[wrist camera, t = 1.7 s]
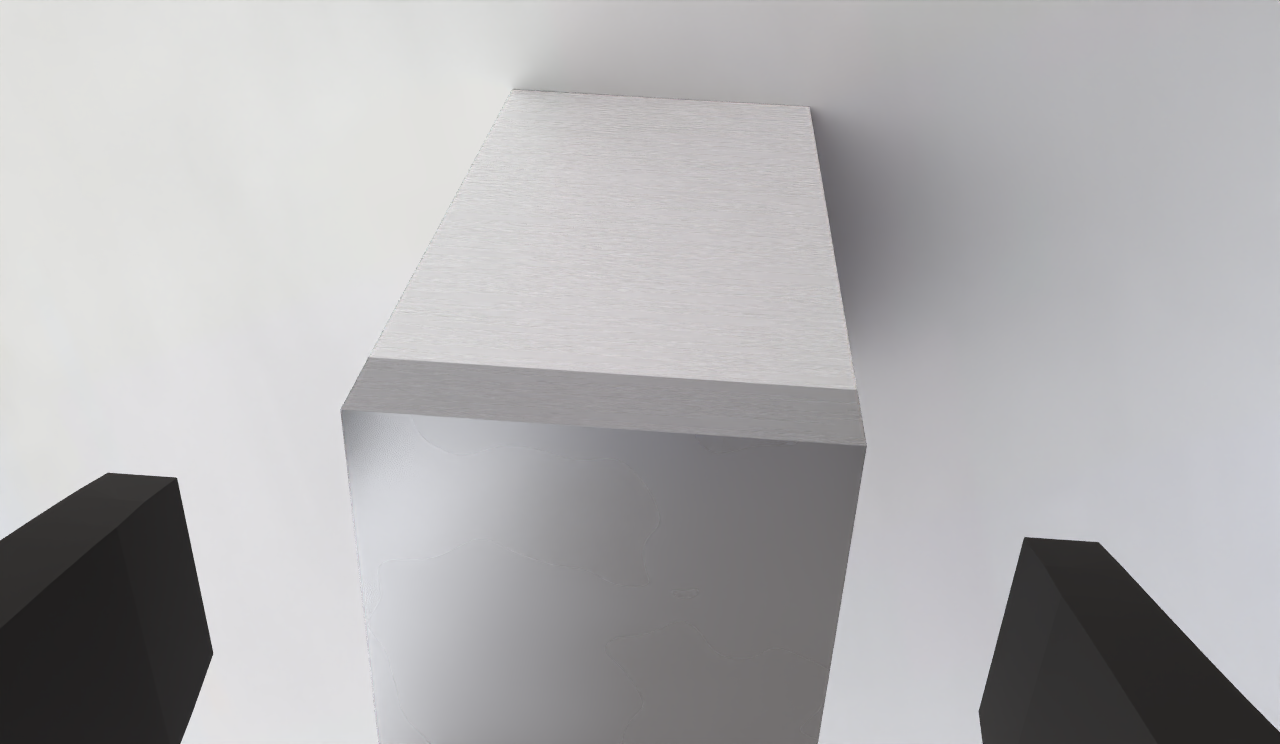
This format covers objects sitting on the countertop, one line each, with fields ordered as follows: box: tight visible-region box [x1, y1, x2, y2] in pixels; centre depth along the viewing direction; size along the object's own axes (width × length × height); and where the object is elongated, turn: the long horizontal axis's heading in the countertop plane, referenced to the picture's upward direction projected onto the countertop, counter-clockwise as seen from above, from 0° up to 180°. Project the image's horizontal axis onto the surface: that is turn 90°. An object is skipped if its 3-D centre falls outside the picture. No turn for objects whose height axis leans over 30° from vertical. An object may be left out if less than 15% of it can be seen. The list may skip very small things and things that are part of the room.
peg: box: [341, 90, 867, 744], centre depth 13 cm, size 4×4×8 cm
